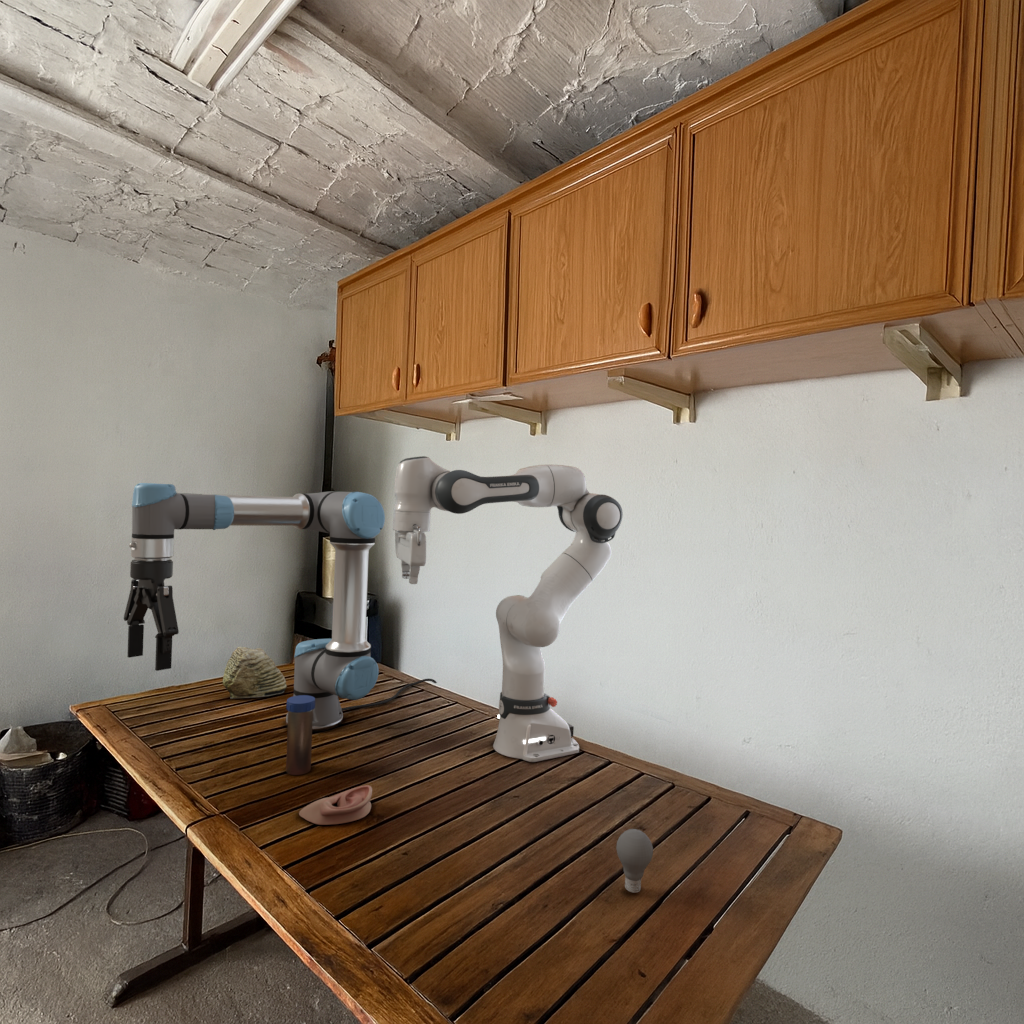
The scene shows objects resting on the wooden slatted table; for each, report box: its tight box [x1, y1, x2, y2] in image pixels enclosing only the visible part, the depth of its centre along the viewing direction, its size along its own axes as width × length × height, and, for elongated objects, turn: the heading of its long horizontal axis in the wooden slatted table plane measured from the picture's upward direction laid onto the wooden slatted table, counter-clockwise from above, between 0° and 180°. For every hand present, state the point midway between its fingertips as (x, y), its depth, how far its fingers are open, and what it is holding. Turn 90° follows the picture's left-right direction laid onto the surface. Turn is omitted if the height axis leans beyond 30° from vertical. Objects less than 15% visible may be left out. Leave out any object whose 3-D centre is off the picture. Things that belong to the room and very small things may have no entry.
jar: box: [285, 710, 313, 776], centre depth 146 cm, size 5×5×16 cm
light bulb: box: [615, 828, 654, 894], centre depth 106 cm, size 6×6×10 cm
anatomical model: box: [298, 784, 373, 826], centre depth 127 cm, size 13×4×12 cm
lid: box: [285, 695, 315, 713], centre depth 146 cm, size 6×6×2 cm
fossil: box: [222, 646, 288, 699], centre depth 198 cm, size 9×18×15 cm, turn 132°
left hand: (148, 662), depth 129 cm, fingers open, 13 cm apart
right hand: (409, 581), depth 152 cm, fingers open, 8 cm apart
